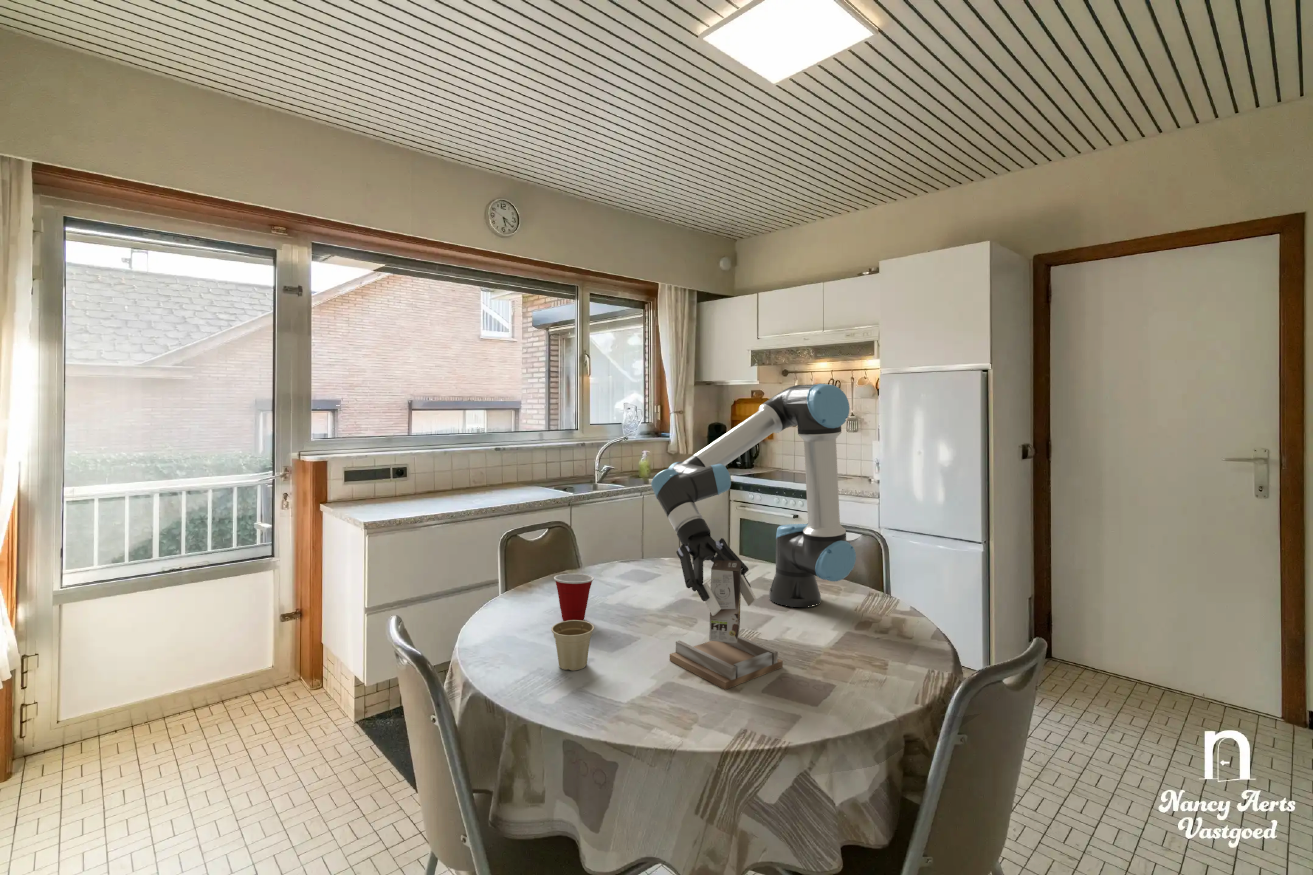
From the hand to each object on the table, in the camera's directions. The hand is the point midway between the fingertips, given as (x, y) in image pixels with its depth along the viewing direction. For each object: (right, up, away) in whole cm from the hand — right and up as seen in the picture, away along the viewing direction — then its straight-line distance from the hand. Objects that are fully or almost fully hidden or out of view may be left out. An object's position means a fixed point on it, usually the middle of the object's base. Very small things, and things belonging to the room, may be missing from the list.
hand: (735, 607), depth 135 cm
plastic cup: (-40, -12, +30) cm, 51 cm away
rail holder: (-2, -14, +3) cm, 14 cm away
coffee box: (-2, -7, +3) cm, 8 cm away
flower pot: (-36, -14, +1) cm, 39 cm away
